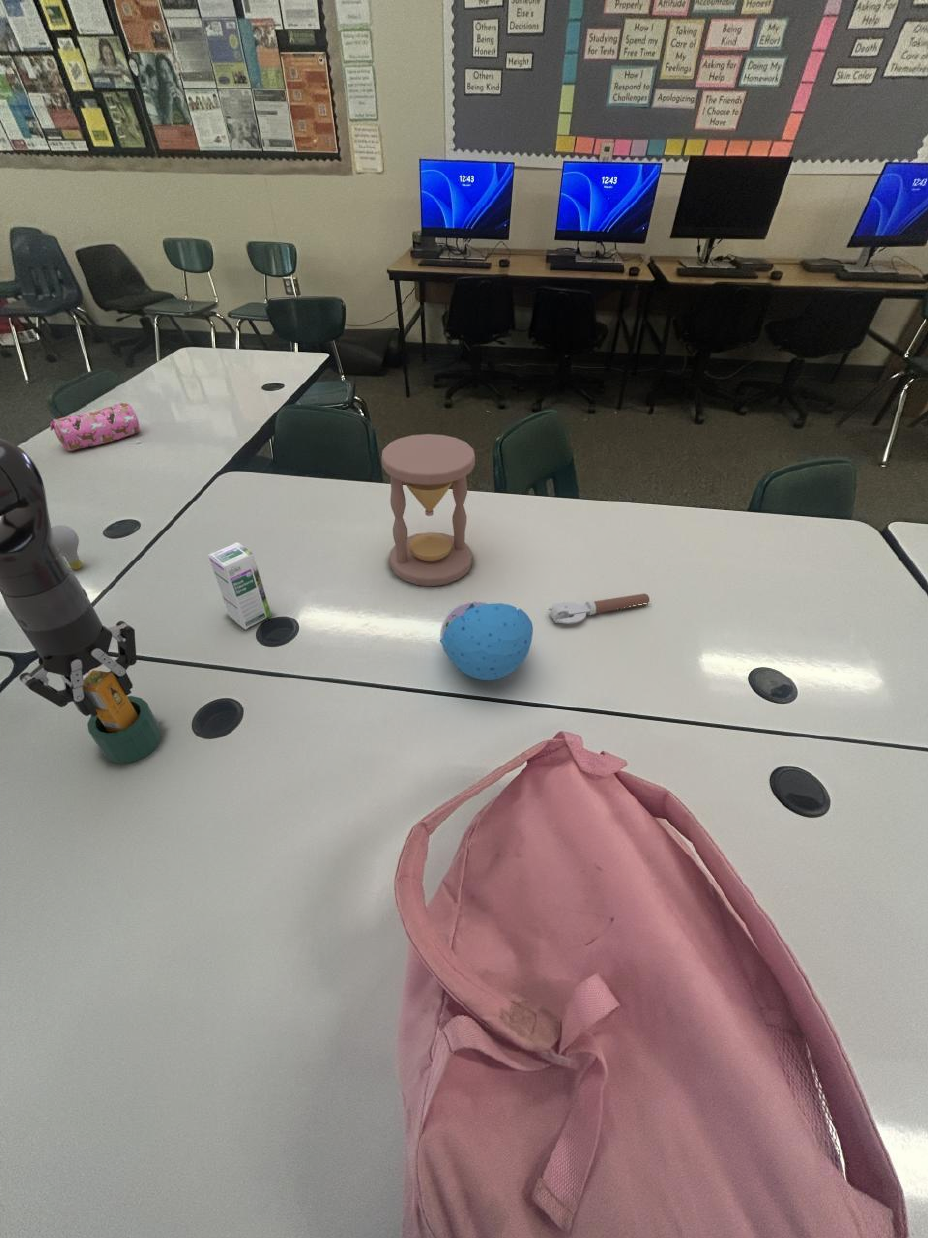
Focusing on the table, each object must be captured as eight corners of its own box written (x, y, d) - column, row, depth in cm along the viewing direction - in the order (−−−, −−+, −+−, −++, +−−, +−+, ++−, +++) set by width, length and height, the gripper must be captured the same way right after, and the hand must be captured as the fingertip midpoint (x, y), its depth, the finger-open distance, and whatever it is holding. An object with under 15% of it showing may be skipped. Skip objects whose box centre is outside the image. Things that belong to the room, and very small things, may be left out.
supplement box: (120, 715, 84) (93, 667, 77) (141, 719, 83) (115, 671, 77) (105, 732, 81) (75, 685, 75) (126, 736, 81) (98, 689, 74)
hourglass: (395, 591, 114) (385, 477, 97) (386, 544, 126) (376, 436, 110) (479, 581, 116) (484, 469, 100) (462, 536, 129) (464, 430, 113)
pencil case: (133, 426, 174) (122, 397, 168) (146, 435, 169) (135, 405, 163) (57, 447, 162) (43, 416, 156) (69, 457, 157) (55, 426, 151)
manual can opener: (633, 590, 115) (636, 578, 113) (650, 607, 111) (654, 595, 109) (544, 612, 109) (545, 600, 107) (559, 632, 105) (561, 620, 103)
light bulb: (57, 570, 117) (34, 529, 110) (83, 558, 120) (62, 517, 114) (71, 579, 115) (48, 537, 108) (97, 566, 118) (77, 525, 112)
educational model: (512, 621, 107) (518, 556, 97) (539, 695, 93) (549, 628, 83) (431, 630, 105) (429, 564, 95) (445, 707, 91) (445, 639, 81)
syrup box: (245, 631, 104) (224, 566, 94) (228, 616, 107) (206, 553, 97) (271, 616, 107) (254, 553, 98) (254, 602, 110) (236, 540, 101)
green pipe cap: (122, 773, 81) (105, 748, 77) (94, 746, 84) (76, 720, 80) (171, 738, 85) (158, 712, 81) (143, 713, 89) (129, 688, 85)
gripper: (95, 569, 74) (142, 662, 85) (-28, 627, 65) (42, 721, 76) (126, 591, 70) (171, 684, 82) (1, 654, 62) (70, 749, 73)
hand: (108, 701), depth 79 cm, fingers closed on supplement box, 4 cm apart
